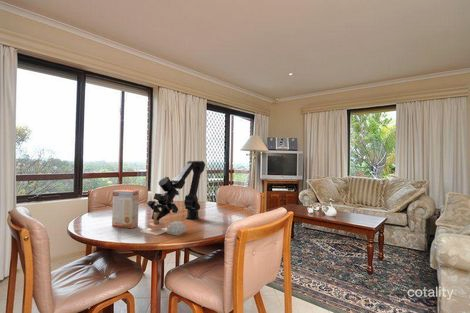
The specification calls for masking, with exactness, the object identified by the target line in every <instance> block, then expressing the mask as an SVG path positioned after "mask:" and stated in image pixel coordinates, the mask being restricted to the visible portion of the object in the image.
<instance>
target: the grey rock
mask: <svg viewBox="0 0 470 313" xmlns="http://www.w3.org/2000/svg"><path fill="white" fill-rule="evenodd" d="M166 228H167V232H166V234H168V235H173V236H180V235H182V234H185V233H186V228H187V225H186V224H184V222H183V221H178V220H175V221H172V222H169V225H167V226H166Z"/></svg>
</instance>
